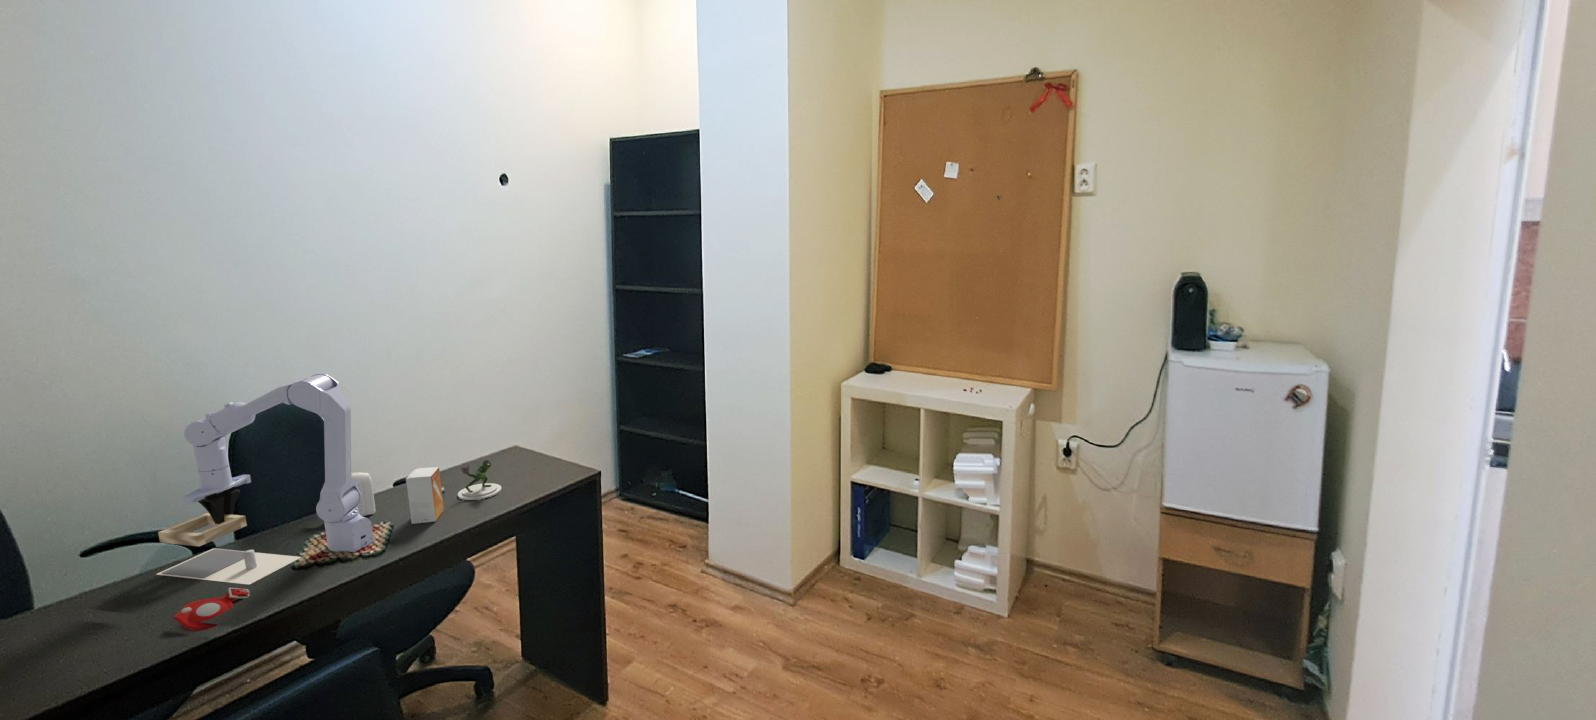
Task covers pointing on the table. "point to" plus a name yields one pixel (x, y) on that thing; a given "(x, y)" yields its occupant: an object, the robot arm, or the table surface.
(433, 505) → the small box
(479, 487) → the monster figurine
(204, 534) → the beige rectangular frame
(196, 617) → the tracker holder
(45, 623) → the table surface
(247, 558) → the board
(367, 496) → the photo printer
